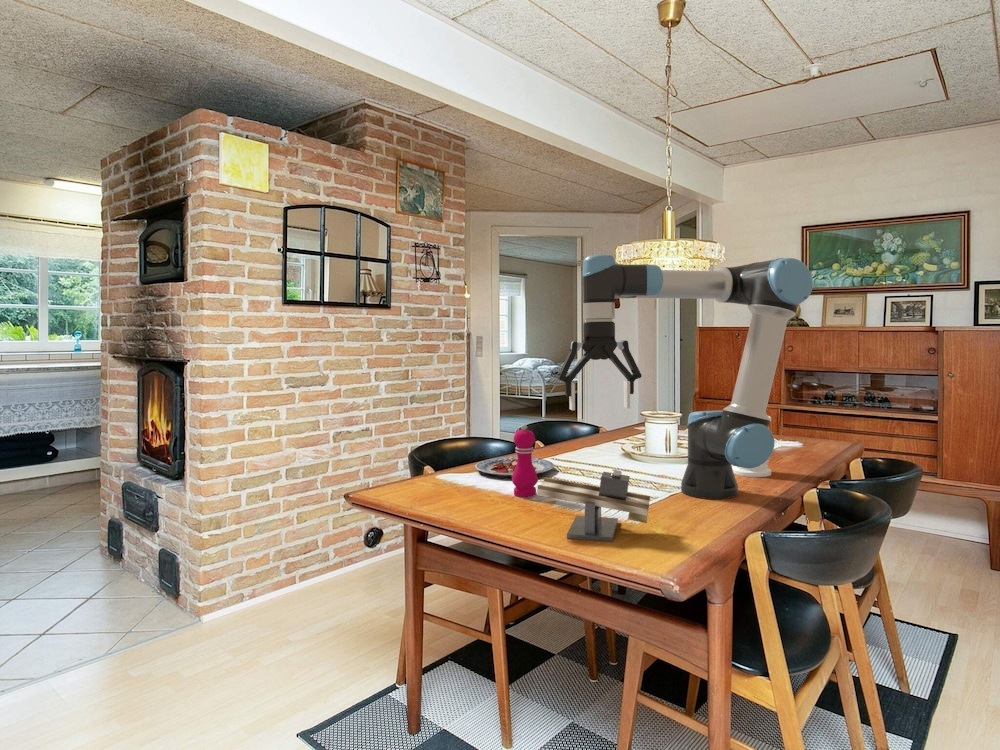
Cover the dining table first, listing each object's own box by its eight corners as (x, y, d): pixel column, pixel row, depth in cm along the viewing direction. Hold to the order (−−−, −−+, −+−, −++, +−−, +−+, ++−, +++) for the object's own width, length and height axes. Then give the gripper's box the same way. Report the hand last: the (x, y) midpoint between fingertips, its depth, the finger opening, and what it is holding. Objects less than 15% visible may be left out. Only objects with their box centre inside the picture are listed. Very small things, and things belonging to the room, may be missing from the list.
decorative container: (764, 479, 192) (765, 420, 191) (726, 473, 199) (726, 417, 198) (776, 472, 201) (777, 415, 199) (739, 467, 208) (740, 412, 207)
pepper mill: (535, 498, 174) (534, 426, 173) (510, 497, 176) (508, 426, 174) (539, 491, 181) (538, 422, 180) (514, 490, 183) (513, 422, 181)
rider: (626, 497, 146) (630, 471, 146) (625, 502, 142) (628, 476, 141) (600, 492, 148) (604, 466, 147) (598, 498, 143) (601, 471, 143)
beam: (647, 514, 147) (650, 496, 147) (646, 524, 139) (648, 505, 139) (542, 494, 153) (544, 477, 153) (535, 503, 146) (537, 485, 145)
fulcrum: (617, 522, 152) (617, 489, 151) (612, 541, 139) (612, 505, 138) (576, 519, 155) (576, 487, 154) (566, 538, 141) (566, 503, 141)
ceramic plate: (460, 470, 211) (460, 461, 211) (522, 459, 226) (522, 451, 226) (505, 485, 190) (505, 475, 190) (570, 472, 205) (570, 463, 205)
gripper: (643, 320, 157) (644, 405, 159) (544, 321, 154) (546, 408, 156) (654, 319, 150) (654, 408, 151) (551, 321, 147) (552, 412, 149)
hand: (599, 408), depth 154 cm, fingers open, 13 cm apart
